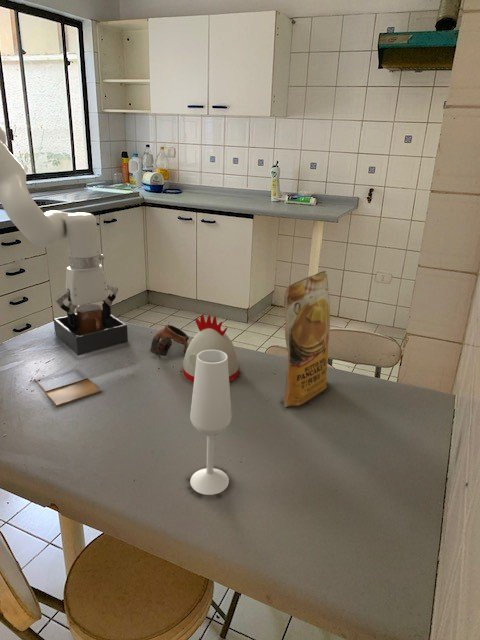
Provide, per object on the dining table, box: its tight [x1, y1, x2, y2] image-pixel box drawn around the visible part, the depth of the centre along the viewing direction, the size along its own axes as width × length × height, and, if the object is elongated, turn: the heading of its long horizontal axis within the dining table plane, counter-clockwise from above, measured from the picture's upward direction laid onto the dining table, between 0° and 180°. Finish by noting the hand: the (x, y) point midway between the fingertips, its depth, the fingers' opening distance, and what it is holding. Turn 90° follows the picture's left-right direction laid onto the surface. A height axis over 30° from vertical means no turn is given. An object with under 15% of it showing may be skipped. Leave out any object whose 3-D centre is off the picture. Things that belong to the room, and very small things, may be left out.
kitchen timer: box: [182, 314, 240, 383], centre depth 113 cm, size 14×14×15 cm
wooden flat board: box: [33, 378, 102, 408], centre depth 107 cm, size 14×10×1 cm
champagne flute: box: [189, 350, 233, 496], centre depth 75 cm, size 7×7×24 cm
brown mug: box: [75, 303, 103, 336], centre depth 127 cm, size 9×7×9 cm
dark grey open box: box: [53, 310, 129, 356], centre depth 129 cm, size 15×14×6 cm
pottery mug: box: [149, 324, 190, 357], centre depth 123 cm, size 12×10×8 cm
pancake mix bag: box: [282, 270, 331, 408], centre depth 103 cm, size 7×19×28 cm, turn 137°
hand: (90, 321), depth 128 cm, fingers open, 9 cm apart
